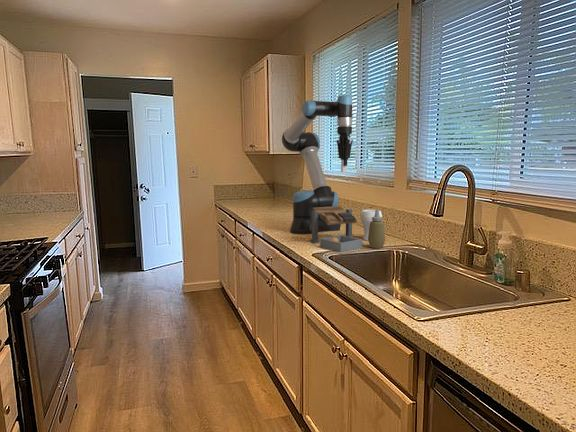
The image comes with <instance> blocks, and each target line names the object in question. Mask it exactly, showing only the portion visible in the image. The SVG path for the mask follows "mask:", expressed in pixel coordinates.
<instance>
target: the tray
mask: <svg viewBox="0 0 576 432" xmlns="http://www.w3.org/2000/svg"><path fill="white" fill-rule="evenodd" d="M353 237H354V236H352V237H348V236H346V235H342V234H341V235H340V234H338V235H334V236H329V237H321V238H319V247H320V248H323V249H327V250H330V251H334V250H335V252H338V251H340V252H339V253H343V251H344V252H348V250H349V251H353V249H354V250H358V248H359V249H362V248H363V239H361V238H357V237H355V238H353ZM332 238H337V239H338V241H339V242H335V241H331V239H332Z"/></svg>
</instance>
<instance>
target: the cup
mask: <svg viewBox="0 0 576 432" xmlns="http://www.w3.org/2000/svg"><path fill="white" fill-rule="evenodd" d="M378 210H379V209H378ZM375 211H376V209H362V211H361V214H360V221H361V224H362V226H363V231H364V232H363V237H362V238H363V239H362V240H364V241H368V234H369V226H370V222H372V217H374V216H375ZM379 215H380V217H382V218H383V214H382V211H381V210H379ZM368 242H369V241H368Z"/></svg>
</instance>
